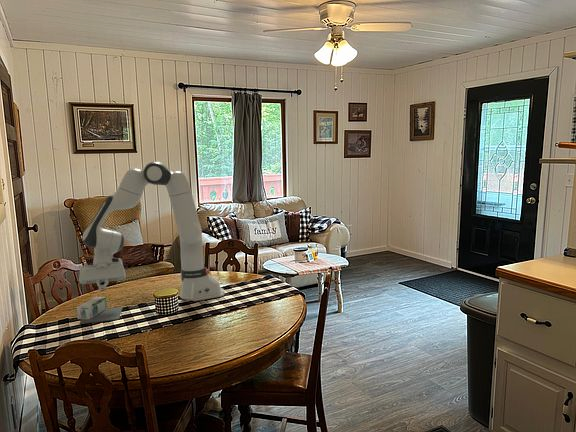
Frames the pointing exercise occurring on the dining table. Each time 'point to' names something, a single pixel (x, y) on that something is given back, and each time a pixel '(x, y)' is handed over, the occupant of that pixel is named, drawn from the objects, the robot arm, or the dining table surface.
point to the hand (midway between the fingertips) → (102, 289)
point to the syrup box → (91, 308)
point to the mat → (104, 316)
